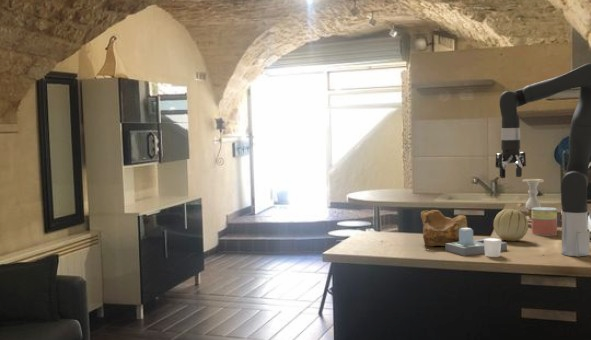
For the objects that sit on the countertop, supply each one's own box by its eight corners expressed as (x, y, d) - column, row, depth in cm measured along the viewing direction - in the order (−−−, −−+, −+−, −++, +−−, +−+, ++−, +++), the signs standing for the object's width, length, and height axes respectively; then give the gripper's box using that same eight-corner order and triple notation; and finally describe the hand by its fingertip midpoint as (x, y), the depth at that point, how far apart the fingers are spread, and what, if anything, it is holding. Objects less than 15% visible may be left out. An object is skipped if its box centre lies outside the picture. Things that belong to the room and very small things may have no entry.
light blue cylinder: (473, 251, 246) (473, 228, 245) (465, 252, 245) (465, 229, 244) (466, 250, 250) (466, 227, 249) (459, 251, 248) (458, 228, 248)
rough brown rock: (406, 247, 266) (404, 214, 264) (427, 238, 277) (426, 207, 275) (451, 256, 249) (450, 221, 247) (472, 246, 260) (472, 213, 258)
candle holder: (517, 225, 310) (516, 179, 308) (532, 223, 314) (532, 178, 313) (533, 228, 300) (533, 180, 298) (549, 226, 304) (549, 179, 303)
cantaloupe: (490, 242, 266) (490, 209, 265) (496, 237, 279) (496, 205, 278) (526, 245, 259) (526, 210, 258) (530, 239, 272) (530, 206, 271)
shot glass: (497, 254, 242) (497, 237, 242) (504, 258, 235) (504, 240, 235) (481, 255, 242) (480, 238, 241) (486, 258, 235) (486, 241, 235)
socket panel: (506, 251, 248) (506, 242, 248) (463, 256, 239) (463, 247, 239) (486, 246, 259) (486, 237, 259) (445, 251, 250) (445, 242, 250)
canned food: (561, 235, 279) (561, 209, 278) (536, 236, 279) (536, 210, 279) (551, 231, 290) (551, 206, 290) (527, 231, 291) (527, 207, 290)
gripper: (503, 139, 245) (503, 179, 246) (530, 138, 250) (530, 177, 251) (491, 139, 251) (491, 177, 253) (517, 138, 257) (517, 176, 258)
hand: (510, 177), depth 252 cm, fingers open, 8 cm apart
